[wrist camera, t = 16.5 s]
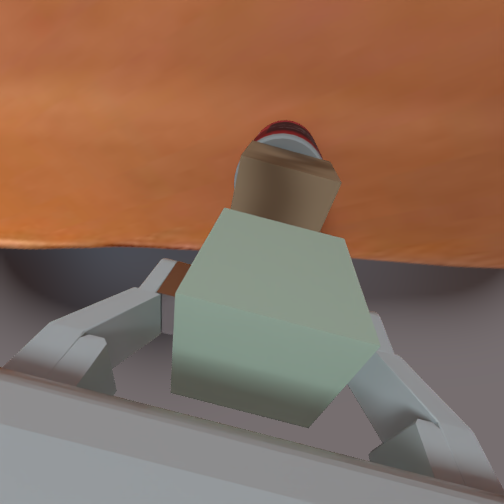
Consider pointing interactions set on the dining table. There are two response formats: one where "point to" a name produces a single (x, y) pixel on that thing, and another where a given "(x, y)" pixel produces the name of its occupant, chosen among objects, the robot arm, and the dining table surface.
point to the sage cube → (269, 320)
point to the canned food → (288, 139)
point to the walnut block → (285, 186)
